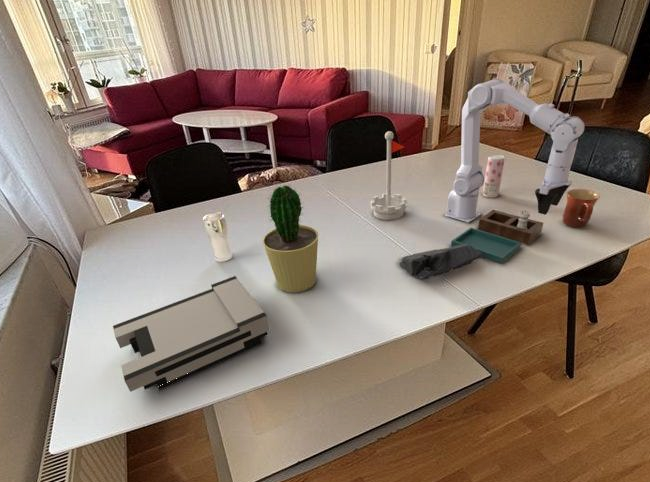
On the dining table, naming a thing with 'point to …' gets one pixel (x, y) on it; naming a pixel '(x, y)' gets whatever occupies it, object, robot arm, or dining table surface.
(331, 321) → the dining table surface
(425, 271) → the dark slate chunk
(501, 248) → the tray
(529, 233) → the wooden compartment box
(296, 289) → the potted cactus
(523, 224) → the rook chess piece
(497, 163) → the beverage can
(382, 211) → the flag stand
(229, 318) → the game console
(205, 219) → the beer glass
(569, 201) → the mug
